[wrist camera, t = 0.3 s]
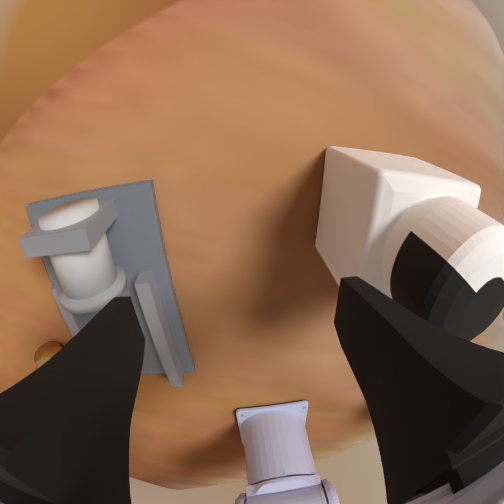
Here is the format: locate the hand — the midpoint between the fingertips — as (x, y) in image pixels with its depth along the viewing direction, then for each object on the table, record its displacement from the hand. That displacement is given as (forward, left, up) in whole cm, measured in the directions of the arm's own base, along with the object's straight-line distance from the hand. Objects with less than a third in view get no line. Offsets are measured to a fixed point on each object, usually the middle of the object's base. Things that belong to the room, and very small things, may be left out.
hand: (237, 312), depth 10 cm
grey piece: (-6, +10, -10) cm, 15 cm away
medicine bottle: (0, -9, -10) cm, 14 cm away
